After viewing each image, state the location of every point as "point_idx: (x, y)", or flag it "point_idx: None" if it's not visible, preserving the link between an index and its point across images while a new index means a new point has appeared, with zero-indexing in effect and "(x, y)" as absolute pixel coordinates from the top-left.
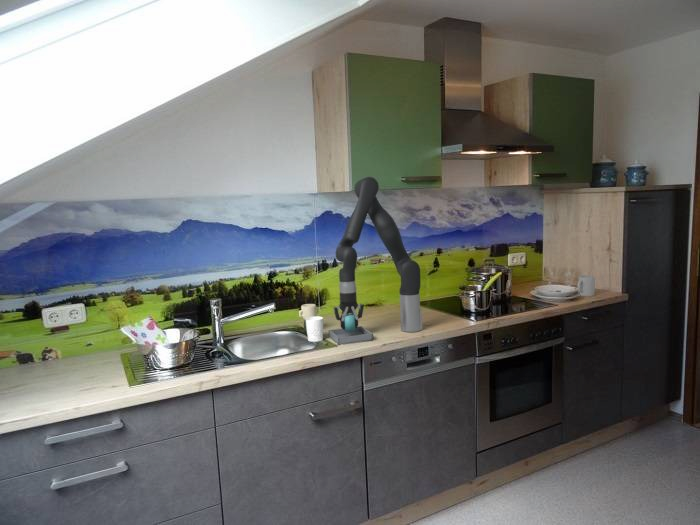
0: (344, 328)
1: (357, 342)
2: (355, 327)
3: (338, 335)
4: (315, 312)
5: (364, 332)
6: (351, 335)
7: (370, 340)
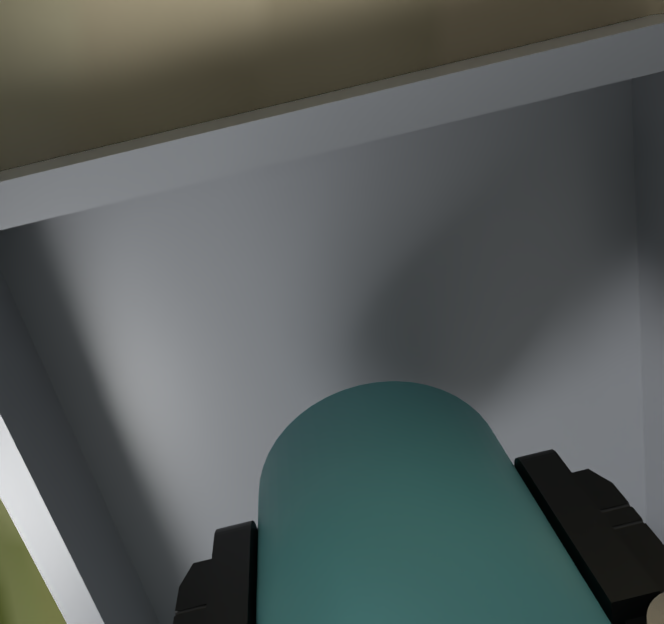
0: None
1: None
2: None
3: (146, 268)
4: None
5: (660, 320)
6: (400, 325)
7: None
